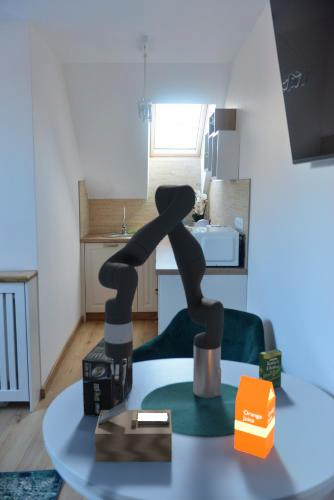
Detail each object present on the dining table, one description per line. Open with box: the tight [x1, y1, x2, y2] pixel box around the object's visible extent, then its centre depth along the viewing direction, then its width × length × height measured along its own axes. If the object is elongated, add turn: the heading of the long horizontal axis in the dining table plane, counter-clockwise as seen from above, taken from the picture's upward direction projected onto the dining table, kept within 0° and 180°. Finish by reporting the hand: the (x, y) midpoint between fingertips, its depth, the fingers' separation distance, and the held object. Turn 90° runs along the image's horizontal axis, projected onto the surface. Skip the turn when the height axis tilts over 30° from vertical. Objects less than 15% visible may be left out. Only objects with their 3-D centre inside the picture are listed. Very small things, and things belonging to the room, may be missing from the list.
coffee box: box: [258, 348, 283, 388], centre depth 158 cm, size 8×3×13 cm, turn 112°
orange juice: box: [233, 374, 276, 459], centre depth 121 cm, size 8×9×20 cm
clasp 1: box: [97, 400, 129, 425], centre depth 120 cm, size 8×4×1 cm, turn 89°
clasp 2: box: [138, 413, 170, 425], centre depth 121 cm, size 9×4×1 cm, turn 91°
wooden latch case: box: [94, 409, 173, 463], centre depth 121 cm, size 20×12×10 cm, turn 91°
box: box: [81, 337, 134, 417], centre depth 148 cm, size 23×10×19 cm, turn 168°
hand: (119, 398), depth 120 cm, fingers closed
